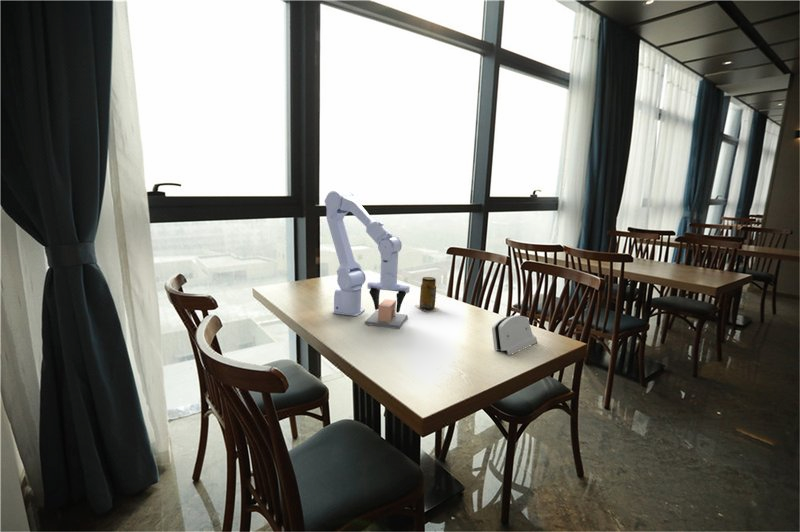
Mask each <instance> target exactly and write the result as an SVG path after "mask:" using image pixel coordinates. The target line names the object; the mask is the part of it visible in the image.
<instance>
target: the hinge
mask: <svg viewBox="0 0 800 532" xmlns="http://www.w3.org/2000/svg"><path fill="white" fill-rule="evenodd" d="M491 332H492V341H493V349H494V351H495V350H496V351H502V352H503V351H506V352H507V356H509V355H510V354H512V353H514V352H516V353H518V352H520V351H519V350H521V349H523V348H525V347H527V346H529V345H531V346H533V345H532V344H534V343H536V342H537V343H538V339H537V337H536V335H534V334H533V330H532V328H531V325H530V320H529V318H528V317H527V316H524V315H508V316H506V317H503V318H501V319H498V321H496V322H495V323H494V325H492V328H491ZM537 343H536V344H537ZM534 345H535V344H534ZM529 347H530V346H529ZM527 348H528V347H527ZM525 349H526V348H525ZM523 350H524V349H523ZM517 351H518V352H517ZM521 351H522V350H521ZM514 354H515V353H514ZM512 355H513V354H512ZM510 356H511V355H510Z"/></svg>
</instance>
